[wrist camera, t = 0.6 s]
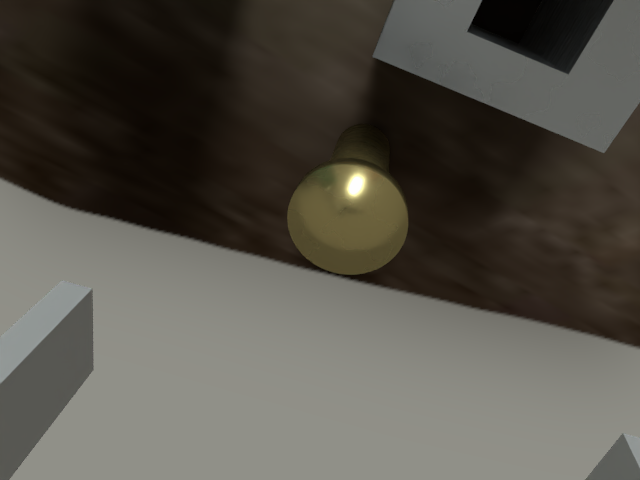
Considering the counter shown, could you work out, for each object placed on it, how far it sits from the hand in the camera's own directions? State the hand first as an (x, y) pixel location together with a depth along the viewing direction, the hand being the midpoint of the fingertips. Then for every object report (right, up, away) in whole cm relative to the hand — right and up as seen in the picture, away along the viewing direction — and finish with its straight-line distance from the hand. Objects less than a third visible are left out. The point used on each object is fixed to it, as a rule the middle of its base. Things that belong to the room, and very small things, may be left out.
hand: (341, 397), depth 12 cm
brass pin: (+3, +11, +24) cm, 27 cm away
